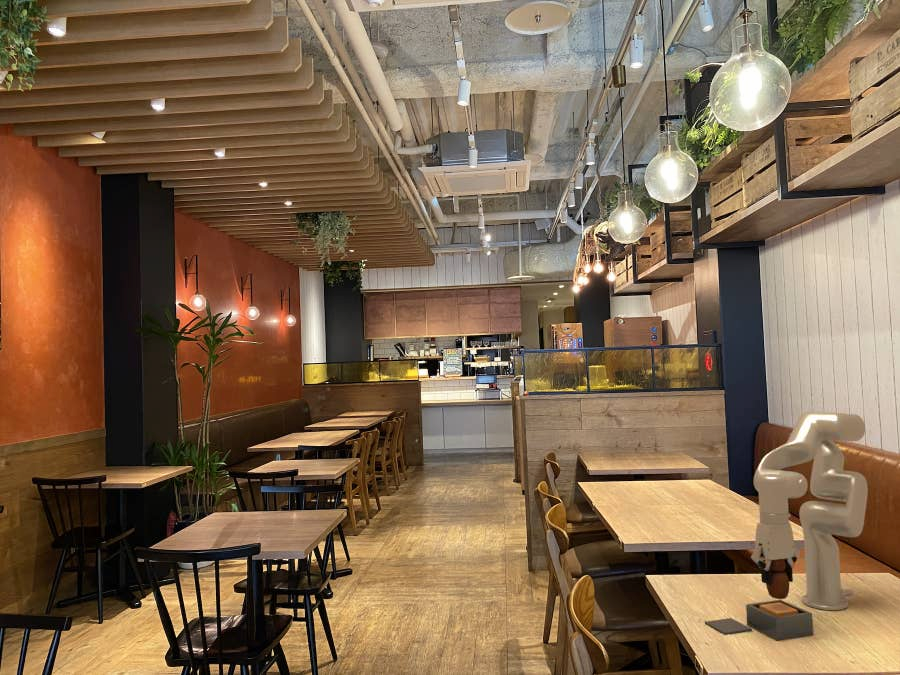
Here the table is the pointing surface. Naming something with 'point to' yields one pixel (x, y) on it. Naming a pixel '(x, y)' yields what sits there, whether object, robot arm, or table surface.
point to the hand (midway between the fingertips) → (777, 581)
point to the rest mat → (728, 626)
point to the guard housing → (779, 622)
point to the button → (778, 609)
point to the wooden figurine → (778, 580)
